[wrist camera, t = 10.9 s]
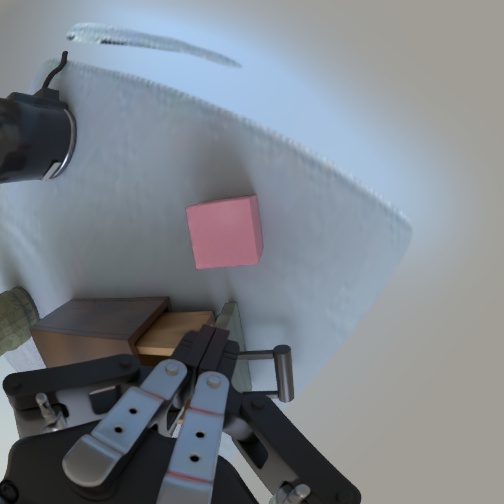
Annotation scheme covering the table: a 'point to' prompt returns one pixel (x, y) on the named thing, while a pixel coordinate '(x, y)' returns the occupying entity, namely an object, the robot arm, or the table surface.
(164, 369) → the robot arm
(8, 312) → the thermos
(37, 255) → the table surface
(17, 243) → the table surface
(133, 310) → the cabinet
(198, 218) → the block
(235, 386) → the drawer
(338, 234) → the table surface
